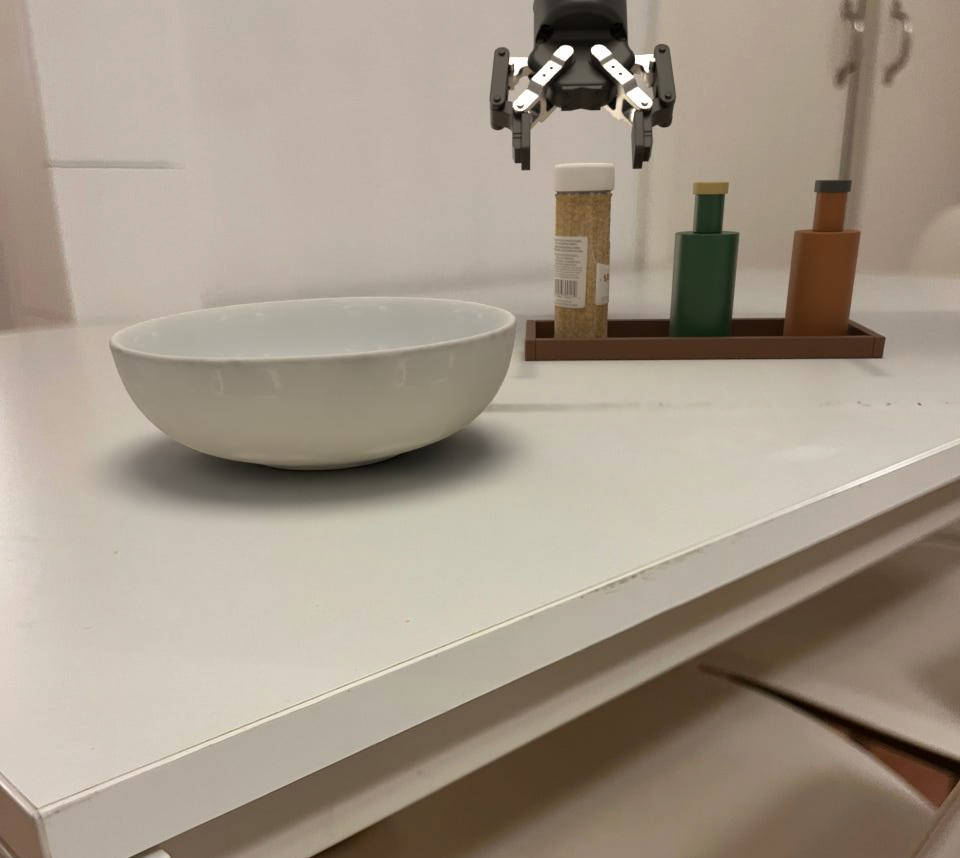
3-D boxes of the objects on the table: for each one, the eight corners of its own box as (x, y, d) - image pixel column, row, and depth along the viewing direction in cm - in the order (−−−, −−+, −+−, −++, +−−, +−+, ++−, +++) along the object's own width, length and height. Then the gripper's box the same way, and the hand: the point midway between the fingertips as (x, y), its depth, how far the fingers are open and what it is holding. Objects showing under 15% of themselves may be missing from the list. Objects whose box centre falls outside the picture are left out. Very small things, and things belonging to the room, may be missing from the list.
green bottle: (724, 342, 82) (737, 181, 77) (734, 352, 78) (749, 182, 73) (664, 342, 83) (674, 182, 78) (672, 352, 78) (682, 183, 73)
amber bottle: (835, 341, 82) (857, 179, 77) (852, 351, 78) (876, 180, 72) (776, 341, 82) (793, 180, 77) (789, 351, 78) (808, 181, 73)
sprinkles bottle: (619, 349, 80) (627, 162, 74) (568, 354, 78) (573, 162, 73) (589, 341, 84) (595, 162, 78) (541, 346, 82) (543, 163, 76)
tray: (842, 342, 85) (846, 316, 84) (881, 366, 75) (886, 336, 74) (526, 345, 86) (526, 319, 85) (524, 368, 77) (525, 339, 76)
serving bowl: (230, 403, 67) (217, 294, 64) (542, 412, 63) (543, 296, 60) (48, 496, 49) (17, 349, 46) (472, 517, 45) (469, 358, 42)
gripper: (490, -37, 79) (486, 123, 73) (674, -42, 78) (684, 119, 73) (493, 48, 86) (490, 199, 80) (662, 44, 85) (670, 197, 80)
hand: (582, 161), depth 77 cm, fingers open, 8 cm apart
